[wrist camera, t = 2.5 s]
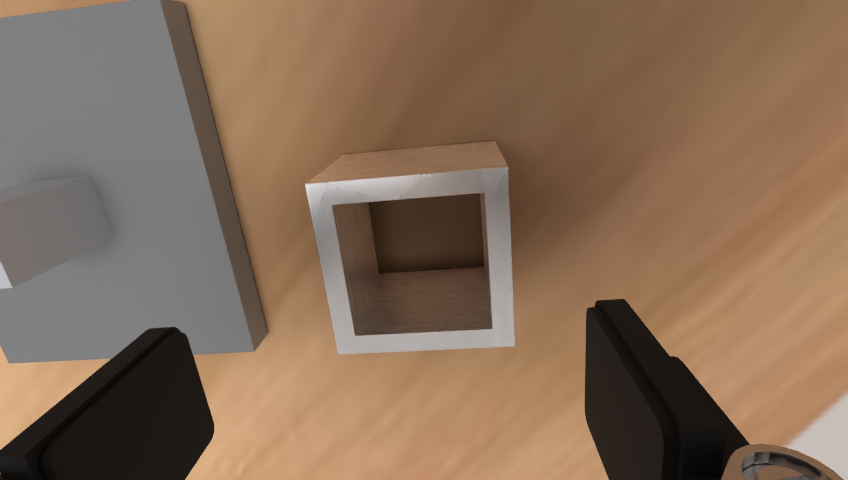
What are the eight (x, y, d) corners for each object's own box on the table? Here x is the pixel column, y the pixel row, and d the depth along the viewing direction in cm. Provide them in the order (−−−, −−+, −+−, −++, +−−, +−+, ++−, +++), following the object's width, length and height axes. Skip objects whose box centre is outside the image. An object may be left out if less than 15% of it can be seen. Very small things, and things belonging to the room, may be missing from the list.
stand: (184, 2, 17) (47, -30, 11) (267, 333, 22) (201, 426, 16) (-104, 40, 18) (-358, 28, 12) (36, 345, 23) (-101, 435, 17)
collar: (494, 140, 18) (508, 167, 13) (501, 280, 20) (514, 346, 15) (344, 154, 18) (305, 184, 14) (365, 288, 20) (338, 354, 16)
